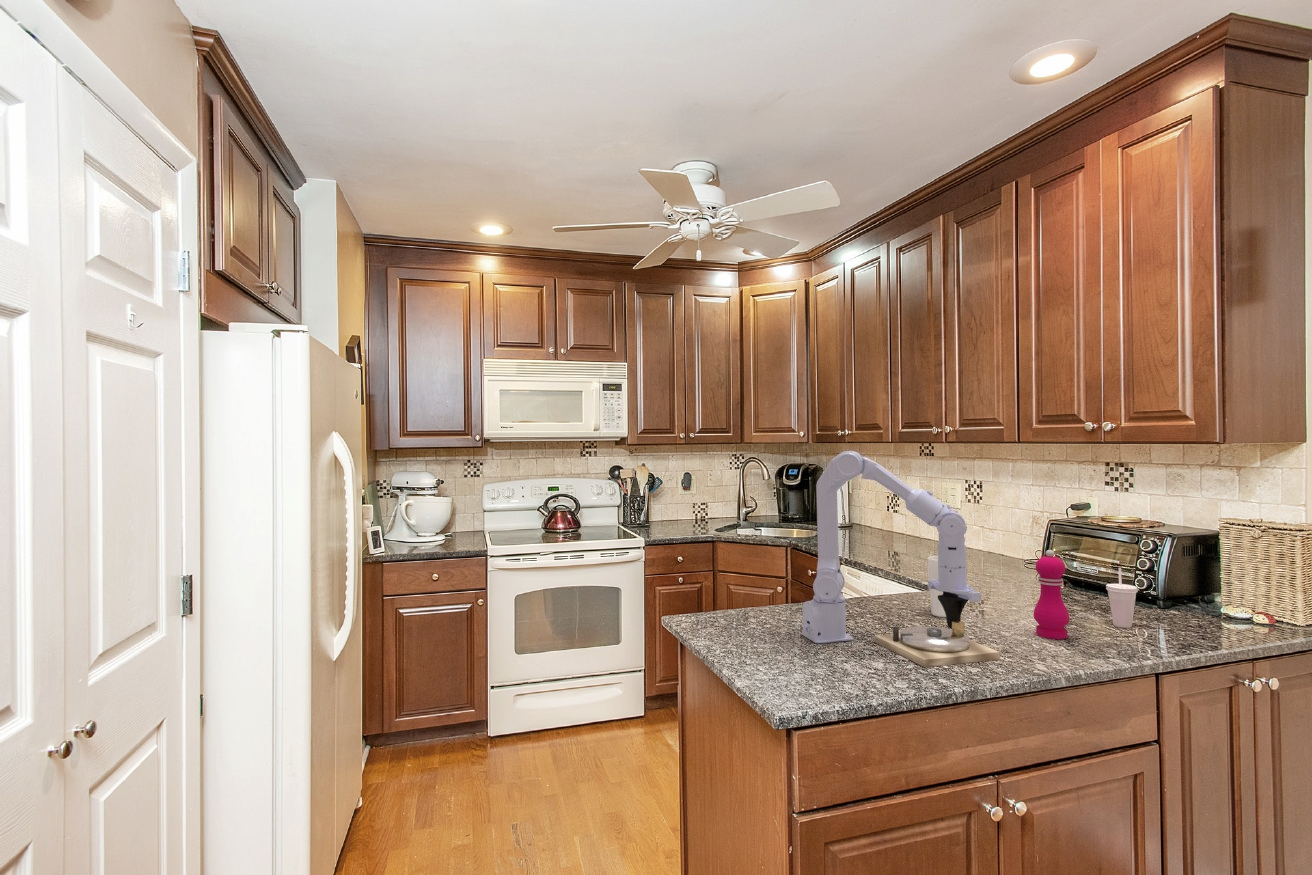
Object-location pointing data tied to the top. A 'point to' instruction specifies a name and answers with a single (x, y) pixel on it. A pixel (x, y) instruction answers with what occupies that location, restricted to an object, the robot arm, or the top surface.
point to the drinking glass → (935, 603)
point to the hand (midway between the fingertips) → (953, 627)
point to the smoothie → (1122, 602)
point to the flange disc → (936, 638)
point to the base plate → (933, 657)
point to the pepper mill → (1051, 598)
